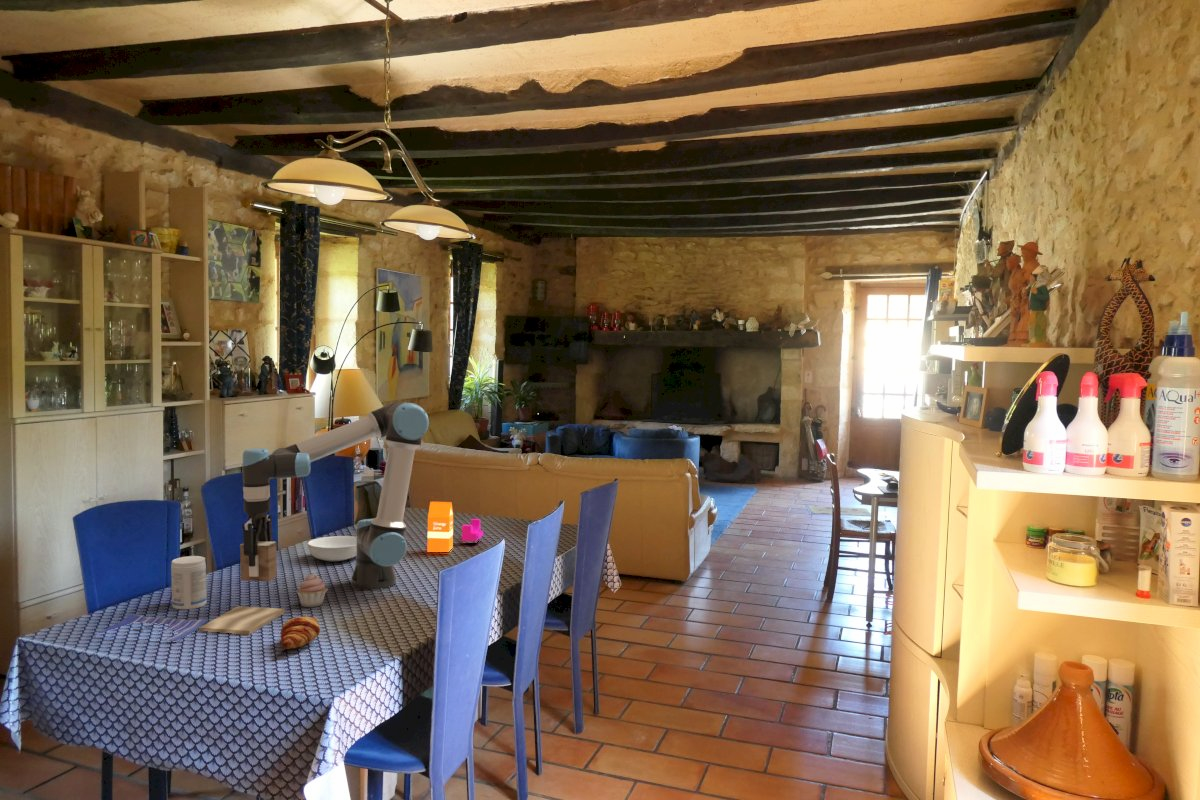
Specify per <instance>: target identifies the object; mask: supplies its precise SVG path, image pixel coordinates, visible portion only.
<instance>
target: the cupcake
mask: <svg viewBox="0 0 1200 800" xmlns="http://www.w3.org/2000/svg"><path fill="white" fill-rule="evenodd" d="M328 590H329V588H327V587H326V584H325V583H324V581H323V579H322V578H321V577H320V576H318V575H316V574H314V573H311V574H309V575H307V576H306V578H305V580H303V581H302V582H301V583H300V584H299V588H297V590H296V593H297V595H298V598H299V601H300V605H301V606H302V607H304V608H316V607H320V606H321V605H323V603H324V600H325V599H324V598H325V597H326V593H327V591H328Z"/></svg>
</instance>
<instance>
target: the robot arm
mask: <svg viewBox="0 0 1200 800" xmlns="http://www.w3.org/2000/svg"><path fill="white" fill-rule="evenodd" d="M429 421H430V420H429V416H428V413H427V411H425V409H424V408H422V406H420V405H418V404H416V403H413V402H406V401H401V400H400V401H395V402H394V401H393V402H391V403H388V404H386V405H384V406H381V407H380V408H377V409H375V410H372V411H370V412H369V413H368V414H367V416H365V417H361V418H360V419H358V420H357V419H356V420H355V421H352V422H349V423H347V424H344V425H341V426H339V427H336V428H334V429H331V430H328V431H326V432H323V433H320V434H318V435H314V436H312V437H310V438H308V439H304V440H301V441H300V442H296V443H294V444H291V445H289V446H286V447H278V448H276V449H274V451H272V452H271V454H270V451H269V449H268V448H259V447H257V448H256V447H255V448H250V449H249V448H248V449H246V450H244V451H243V453H242V464H241V466H242V483H243V484H242V491H243V499H244V500H243V512H244V513H245V514H247V519H246V523H245V522H244V523H242V525H241V528H242V531H243V532H242V537H243V538H242V540H243V543H244V555H245V556H248V557H249V576H250V577H258V576H259V564H258V555H256V554H257V545H258V541H270V542H273V533H272V532H273V531H272V519H273V516H272V514H267V513H268V512H270V510H271V499H270V498H271V492H270V491H271V487H270V485H271V484H270V481H271V480H273V479H274V480H275V479H288V478H290V479H291V478H298V479H299V478H302V477H308V476H309V475H310V473H311V466H312V465H311V463H313V462H314V461H318V460H320V459H323V458H325V457H327V456H330V455H333V454H336V453H338V452H340V451H343V450H345V449H348V448H350V447H353V446H356V445H359V444H362V443H363V442H367V441H368V440H371V439H374V438H377V439H381V438H384V437H385V442H386V443H387V445H388V450H387V451H388V452H387V456H386V462H385V468H384V474H383V479H382V484H381V491H380V495H379V502H378V508H377V513H376V517H375V518H364V519H361V520H358V522H357V523H356V528H355V531H356V537H357V555H356V556H355V557H356V560H355V561H356V562H355V563H356V564H355V567H354V570H353V573H352V575H351V579H350V586H351V585H352V586H353V587H352V586H351V587H352V588H354V587H355V588H354V589H356V588H359V589H358V590H361V589H381V588H386V587H389V586H392V585H394V584H395V583H396V584H397V575H396V573H395V569H394V567H393V566H395V565H397V564H398V563H400V562H401V561H402V560H403V559H404V558H405V556H406V553H407V550H408V545H407V541H406V537H405V536H406V530H407V525H406V523H405V522H404V517H405V516H404V515H405V510H406V505H407V504H406V503H407V498H408V493H409V487H410V481H411V476H412V471H413V465H414V464H413V462H414V458H415V452H416V450H417V449H418V448H420V447H421V445H422V439H423V436H424V435H425V434H426V433H427V431H428V429H429V425H430V422H429ZM396 584H395V585H396ZM395 585H394V586H395ZM392 587H393V586H392ZM386 589H387V588H386ZM381 590H382V589H381Z"/></svg>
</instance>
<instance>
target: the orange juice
mask: <svg viewBox="0 0 1200 800" xmlns="http://www.w3.org/2000/svg"><path fill="white" fill-rule="evenodd" d="M453 538H454V511H453V504H452V501H430V502H429V509H428V515H427V550H426V551H427V552H449V551H450V550H451V549H452V548H453V549H454V546H453V545H454V544H453V543H454V539H453ZM453 549H452V550H453ZM452 550H451V551H452ZM451 551H450V552H451Z"/></svg>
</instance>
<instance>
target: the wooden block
mask: <svg viewBox="0 0 1200 800" xmlns="http://www.w3.org/2000/svg"><path fill="white" fill-rule="evenodd" d="M239 551H240V552H239V557H240V559H239V560H240V581H243V582H246V581H248V582H270V581H273V580H274V579H275V578H277V577H278V562H277V561H278V560H277V557H278V556H277V541H272V542H270V541H259V540H258V545H257V554H256V555H258V564H259V576H258V577H250V576H249V557H248V556H245V555H244V542H242V543H240V545H239Z"/></svg>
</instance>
